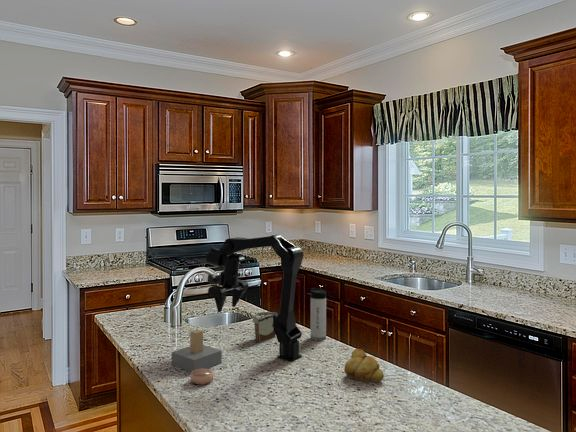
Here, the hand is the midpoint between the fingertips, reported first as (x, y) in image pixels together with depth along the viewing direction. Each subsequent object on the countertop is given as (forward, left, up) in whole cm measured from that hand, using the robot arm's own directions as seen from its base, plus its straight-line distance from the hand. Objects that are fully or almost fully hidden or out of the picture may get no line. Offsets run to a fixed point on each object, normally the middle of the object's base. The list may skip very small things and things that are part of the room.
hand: (226, 309), depth 181 cm
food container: (-5, -15, -14) cm, 21 cm away
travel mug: (-22, -30, -14) cm, 40 cm away
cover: (-6, +20, -14) cm, 26 cm away
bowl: (-19, +29, -14) cm, 38 cm away
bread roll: (-57, -5, -14) cm, 59 cm away
